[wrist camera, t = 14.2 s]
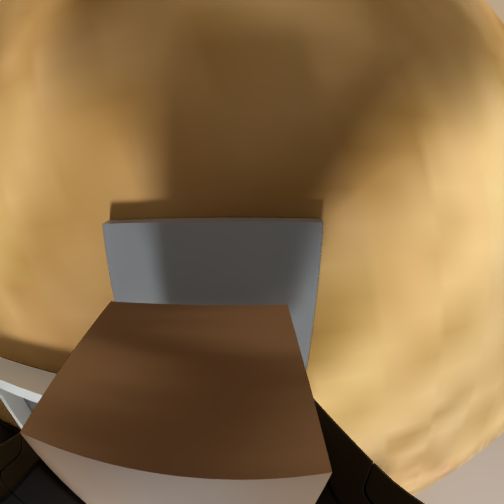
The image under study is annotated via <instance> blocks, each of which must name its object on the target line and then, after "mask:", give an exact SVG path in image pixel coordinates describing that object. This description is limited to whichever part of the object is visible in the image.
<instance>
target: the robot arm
mask: <svg viewBox="0 0 504 504" xmlns="http://www.w3.org/2000/svg"><path fill="white" fill-rule="evenodd" d="M313 399H314V398H313ZM314 403H315V407H316V410H317V414H318V418H319V422H320V426H321V430H322V434H323V438H324V441H325V445H326V449H327V453H328V457H329V461H330V465H331V469H332V474H331V476H330V477H329V479H328V481H327V483H326V485H325V487H324V489H323V491H322V492H321V494H320V496H319V498H318V499H317V501H316V503H315V504H424V503H423V502H421V501H420V500H418V499H417V498H415V497H414V496H413V495H411V494H410V493H408V492H407V491H406V490H404V489H403V488H402V487H400V486H399V485H398V484H397V483H395V482H394V481H393V480H392V479H391V478H390V477H389V476H388V475H387V474H385V473H384V472H383V471H382V470H381V469H380V468H379V467H378V466H377V465H376V464H375V463H373V461H372V460H371V459H370V458H369V457H368V456H367V455H366V454H365V453H364V452H363V451H362V450H361V449H360V448H359V447H358V446H357V444H356V443H355V442H354V441H353V440H352V439H351V438H350V437H349V436H348V435H347V434H346V433H345V432H344V431H343V430H342V429H341V428H340V427H339V426H338V424H337V423H336V422H335V421H334V420H333V419H332V418H331V417H330V416H329V415H328V414H327V413H326V412H325V410H324V409H323V408H322V407H321V406H320V405H319V404H318V403H317V402H316V401H315V399H314ZM0 504H86V503H85V502H84V501H83V500H82V499H81V498H80V497H79V496H77V495H76V494H75V493H74V492H73V491H72V490H71V489H70V488H69V487H68V486H67V485H66V484H65V483H64V482H63V481H62V480H61V479H60V478H59V477H58V476H57V475H56V474H55V473H54V472H53V471H52V470H51V469H50V468H49V467H48V466H47V465H46V463H45V462H44V461H43V460H42V459H41V458H40V457H39V455H38V454H37V453H36V452H35V451H34V450H33V448H32V447H31V446H30V445H29V443H28V442H27V441H26V440H25V438H24V437H23V436H22V435H21V433H20V430H18V429H16V428H14V427H12V426H10V425H8V424H6V423H4V422H2V421H0Z"/></svg>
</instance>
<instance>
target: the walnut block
mask: <svg viewBox="0 0 504 504" xmlns="http://www.w3.org/2000/svg"><path fill="white" fill-rule="evenodd" d="M20 433H21V435H22V436H23V437H24V438H25V440H26V441H27V442H28V443H29V445H30V446H31V447H32V448H33V450H34V451H35V452H36V453H37V454H38V455H39V457H40V458H41V459H42V460H43V461H44V462H45V463H46V465H47V466H48V467H49V468H50V469H51V470H52V471H53V472H54V473H55V474H56V475H57V476H58V477H59V478H60V479H61V480H62V481H63V482H64V483H65V484H66V485H67V486H68V487H69V488H70V489H71V490H72V491H73V492H74V493H75V494H76V495H77V496H79V497H80V498H81V499H82V500H83V501H84V502H85V503H86V504H315V503H316V501H317V499H318V498H319V496H320V494H321V492H322V491H323V489H324V487H325V485H326V483H327V481H328V479H329V477H330V476H331V474H332V469H331V465H330V461H329V457H328V453H327V449H326V445H325V441H324V438H323V434H322V430H321V426H320V422H319V418H318V414H317V410H316V407H315V403H314V399H313V395H312V391H311V388H310V384H309V380H308V377H307V373H306V369H305V365H304V362H303V358H302V354H301V351H300V347H299V344H298V340H297V336H296V333H295V329H294V326H293V322H292V318H291V315H290V311H289V308H288V304H285V305H186V304H153V303H131V302H112V301H111V302H110V303H109V304H108V306H107V307H106V308H105V309H104V311H103V312H102V313H101V314H100V316H99V317H98V318H97V320H96V321H95V322H94V324H93V325H92V326H91V327H90V329H89V330H88V331H87V333H86V334H85V335H84V337H83V338H82V339H81V341H80V342H79V344H78V345H77V346H76V348H75V349H74V350H73V352H72V353H71V355H70V356H69V357H68V359H67V360H66V362H65V363H64V364H63V366H62V367H61V369H60V370H59V372H58V373H57V375H56V376H55V377H54V379H53V380H52V382H51V383H50V385H49V386H48V388H47V389H46V391H45V392H44V394H43V395H42V397H41V399H40V400H39V402H38V403H37V405H36V406H35V408H34V410H33V411H32V413H31V414H30V416H29V418H28V419H27V421H26V423H25V424H24V426H23V428H22V429H21V431H20Z"/></svg>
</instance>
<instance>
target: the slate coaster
mask: <svg viewBox="0 0 504 504" xmlns="http://www.w3.org/2000/svg"><path fill="white" fill-rule="evenodd" d="M102 225H103V234H104V241H105V249H106V255H107V262H108V268H109V274H110V279H111V285H112V290H113V295H114V300H115V302H131V303H153V304H186V305H285V304H288V308H289V311H290V315H291V318H292V322H293V326H294V329H295V333H296V336H297V340H298V344H299V347H300V351H301V354H302V358H303V362H304V365H305V369H306V368H307V362H308V356H309V349H310V342H311V335H312V328H313V321H314V313H315V305H316V297H317V288H318V279H319V269H320V258H321V247H322V235H323V222H322V221H321V220H320V219H312V218H164V219H128V220H108V221H107V222H105V223H103V224H102Z"/></svg>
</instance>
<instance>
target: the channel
mask: <svg viewBox="0 0 504 504" xmlns="http://www.w3.org/2000/svg"><path fill="white" fill-rule="evenodd" d="M56 375H57V374H56V373H52V372H48V371H44V370H40V369H37V368H33V367H30V366H27V365H23V364H20V363H17V362H14V361H11V360H8V359H5V358H2V357H0V398H1V400H2V402H3V403H4V405H5V406H6V408H7V409H8V411H9V412H10V414H11V415H12V417H13V418H14V419H15V421H16V422H17V424H18V425H19V426H20V428H21V429H22V428H23V426H24V424H25V423H26V421H27V419H28V418H29V416H30V414H31V413H32V411H33V410H34V408H35V406H36V405H37V403H38V402H39V400H40V399H41V397H42V395H43V394H44V392H45V391H46V389H47V388H48V386H49V385H50V383H51V382H52V380H53V379H54V377H55V376H56Z"/></svg>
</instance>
